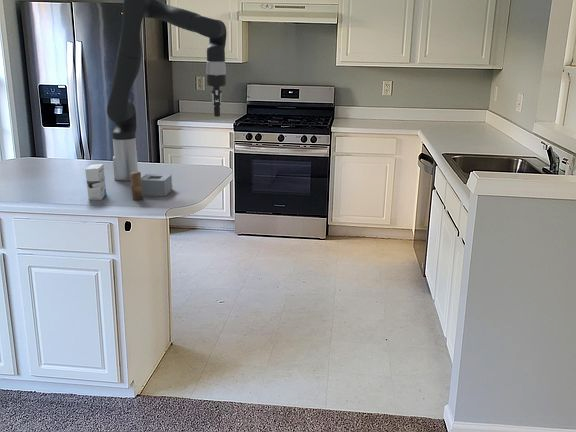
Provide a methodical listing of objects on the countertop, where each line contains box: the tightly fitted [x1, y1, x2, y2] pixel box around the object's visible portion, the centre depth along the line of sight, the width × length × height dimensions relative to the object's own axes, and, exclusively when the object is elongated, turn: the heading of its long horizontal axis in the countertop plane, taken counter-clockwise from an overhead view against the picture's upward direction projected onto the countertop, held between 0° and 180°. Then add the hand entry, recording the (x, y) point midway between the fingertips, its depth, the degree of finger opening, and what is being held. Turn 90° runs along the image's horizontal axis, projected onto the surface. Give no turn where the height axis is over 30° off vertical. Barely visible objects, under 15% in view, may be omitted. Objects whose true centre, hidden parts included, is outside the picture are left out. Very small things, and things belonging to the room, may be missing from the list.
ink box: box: [85, 163, 107, 201], centre depth 210 cm, size 8×5×12 cm, turn 5°
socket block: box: [141, 173, 173, 197], centre depth 217 cm, size 10×10×6 cm
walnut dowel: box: [130, 171, 143, 201], centre depth 207 cm, size 4×4×10 cm
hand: (217, 115), depth 226 cm, fingers open, 8 cm apart
